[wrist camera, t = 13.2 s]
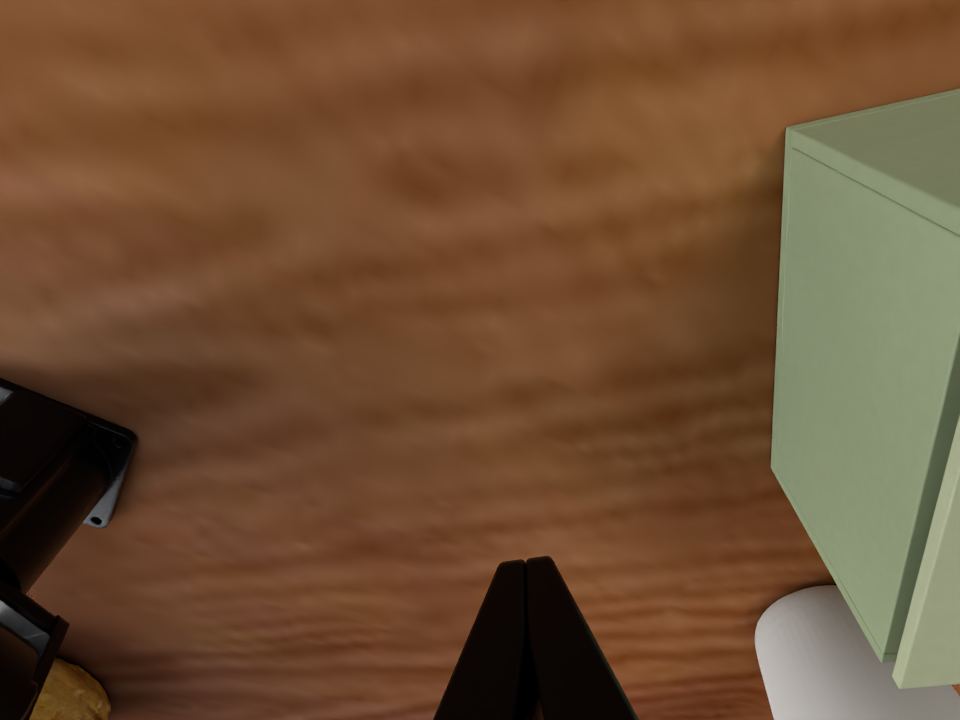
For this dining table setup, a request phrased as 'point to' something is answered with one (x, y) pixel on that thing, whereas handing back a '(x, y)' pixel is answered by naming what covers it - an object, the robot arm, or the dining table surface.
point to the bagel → (71, 695)
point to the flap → (936, 594)
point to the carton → (869, 344)
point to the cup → (834, 666)
